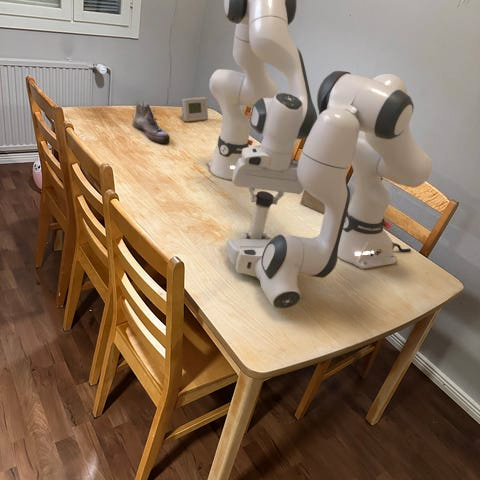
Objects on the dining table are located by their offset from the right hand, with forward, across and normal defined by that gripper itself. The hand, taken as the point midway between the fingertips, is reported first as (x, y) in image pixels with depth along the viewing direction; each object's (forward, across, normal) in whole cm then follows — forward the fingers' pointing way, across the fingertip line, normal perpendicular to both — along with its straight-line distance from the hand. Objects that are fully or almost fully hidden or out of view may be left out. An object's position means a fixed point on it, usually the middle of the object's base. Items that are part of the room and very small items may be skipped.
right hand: (253, 234), depth 132 cm
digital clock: (+114, -2, +5) cm, 115 cm away
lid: (-1, 0, -14) cm, 14 cm away
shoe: (+89, +22, +5) cm, 91 cm away
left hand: (-1, 0, -12) cm, 12 cm away
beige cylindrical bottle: (-1, 0, +5) cm, 5 cm away
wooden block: (+30, -36, +5) cm, 47 cm away
